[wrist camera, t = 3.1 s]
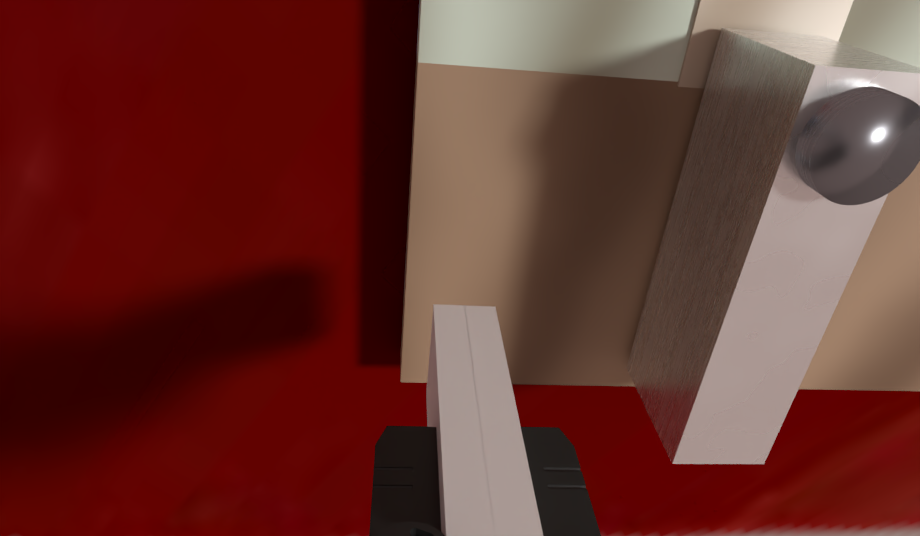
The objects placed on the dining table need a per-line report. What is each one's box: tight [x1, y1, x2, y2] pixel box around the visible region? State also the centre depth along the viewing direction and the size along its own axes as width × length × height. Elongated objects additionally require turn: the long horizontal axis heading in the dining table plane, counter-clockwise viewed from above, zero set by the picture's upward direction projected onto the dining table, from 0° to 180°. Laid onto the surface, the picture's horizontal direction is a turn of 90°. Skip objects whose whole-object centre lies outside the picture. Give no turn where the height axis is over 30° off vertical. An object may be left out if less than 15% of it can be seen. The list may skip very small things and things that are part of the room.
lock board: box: [401, 0, 920, 391], centre depth 15 cm, size 21×20×6 cm
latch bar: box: [627, 28, 920, 464], centre depth 16 cm, size 10×3×5 cm, turn 175°
